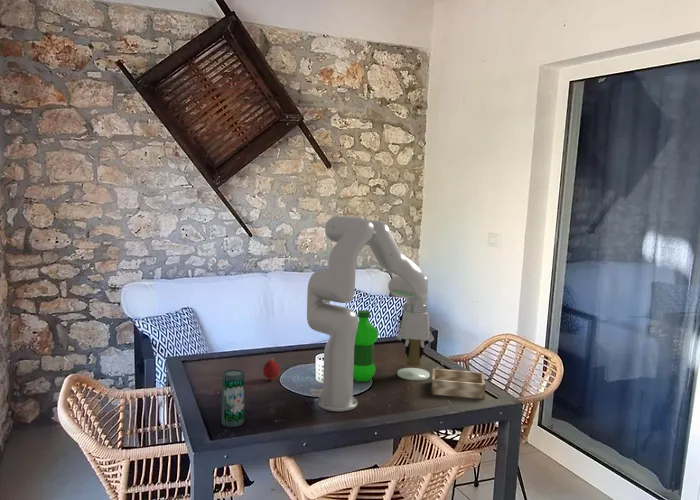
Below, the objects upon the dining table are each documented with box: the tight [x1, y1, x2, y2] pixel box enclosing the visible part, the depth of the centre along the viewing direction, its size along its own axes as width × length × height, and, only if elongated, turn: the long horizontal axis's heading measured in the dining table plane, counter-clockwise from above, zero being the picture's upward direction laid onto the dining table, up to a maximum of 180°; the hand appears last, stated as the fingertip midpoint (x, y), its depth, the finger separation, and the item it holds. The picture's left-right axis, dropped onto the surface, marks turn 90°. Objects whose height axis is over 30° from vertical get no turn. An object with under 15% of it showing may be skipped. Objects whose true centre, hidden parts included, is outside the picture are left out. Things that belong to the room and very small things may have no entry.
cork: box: [405, 339, 423, 367], centre depth 215 cm, size 6×6×11 cm
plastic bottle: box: [353, 309, 379, 382], centre depth 207 cm, size 10×10×25 cm
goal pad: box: [396, 367, 431, 382], centre depth 216 cm, size 12×12×1 cm
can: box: [221, 368, 245, 428], centre depth 168 cm, size 6×6×15 cm
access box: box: [430, 368, 486, 400], centre depth 201 cm, size 18×13×5 cm
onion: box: [262, 358, 281, 381], centre depth 205 cm, size 6×6×8 cm
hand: (414, 356), depth 215 cm, fingers closed on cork, 3 cm apart
